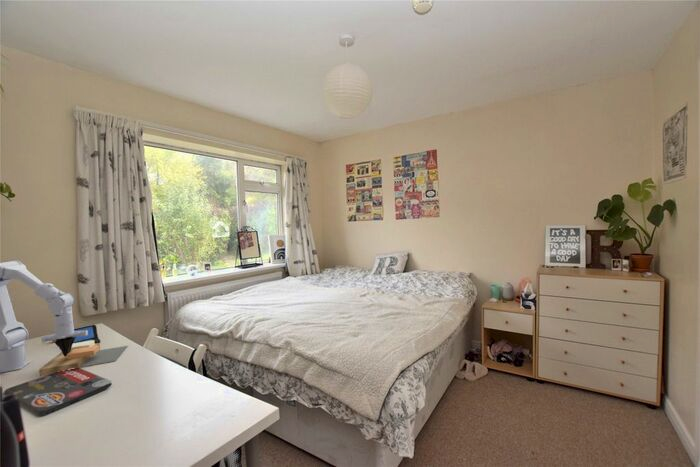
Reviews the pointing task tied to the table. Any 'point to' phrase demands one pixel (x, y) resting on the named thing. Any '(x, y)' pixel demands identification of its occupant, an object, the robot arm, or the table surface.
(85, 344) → the cream rectangular block
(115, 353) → the mat
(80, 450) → the table surface
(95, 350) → the orange rectangular block
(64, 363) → the deck
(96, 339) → the handheld game console
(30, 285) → the robot arm
